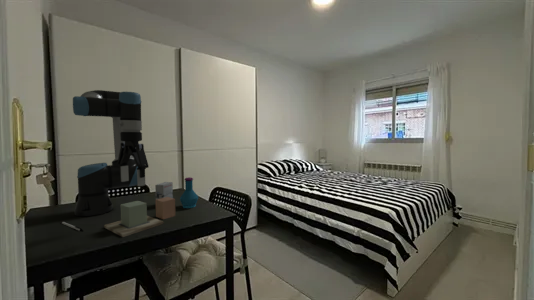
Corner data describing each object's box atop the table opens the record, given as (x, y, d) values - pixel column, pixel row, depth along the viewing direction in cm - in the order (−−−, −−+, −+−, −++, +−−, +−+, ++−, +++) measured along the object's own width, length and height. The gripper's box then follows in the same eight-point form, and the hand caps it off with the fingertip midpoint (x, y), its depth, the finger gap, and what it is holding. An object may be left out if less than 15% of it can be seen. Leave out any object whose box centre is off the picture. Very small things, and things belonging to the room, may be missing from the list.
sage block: (121, 223, 96) (120, 204, 96) (138, 218, 102) (138, 200, 101) (129, 227, 92) (128, 207, 92) (147, 222, 98) (146, 203, 97)
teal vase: (191, 202, 130) (190, 175, 129) (202, 205, 125) (201, 177, 124) (176, 206, 123) (175, 178, 122) (187, 210, 117) (186, 180, 117)
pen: (81, 232, 91) (81, 229, 91) (59, 223, 100) (59, 220, 100) (84, 231, 92) (84, 228, 92) (62, 222, 101) (62, 220, 101)
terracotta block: (155, 216, 108) (155, 199, 107) (167, 213, 113) (167, 196, 112) (163, 219, 104) (162, 201, 104) (175, 215, 109) (175, 198, 109)
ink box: (165, 202, 131) (164, 181, 130) (173, 202, 130) (173, 181, 129) (155, 206, 123) (154, 184, 122) (163, 207, 122) (163, 185, 121)
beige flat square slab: (104, 227, 95) (103, 224, 95) (143, 216, 108) (143, 214, 108) (122, 237, 86) (122, 234, 86) (163, 223, 99) (163, 221, 99)
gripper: (107, 131, 99) (109, 180, 100) (137, 131, 84) (139, 189, 86) (126, 131, 105) (127, 178, 106) (157, 131, 91) (158, 185, 92)
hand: (132, 183), depth 96 cm, fingers open, 13 cm apart
